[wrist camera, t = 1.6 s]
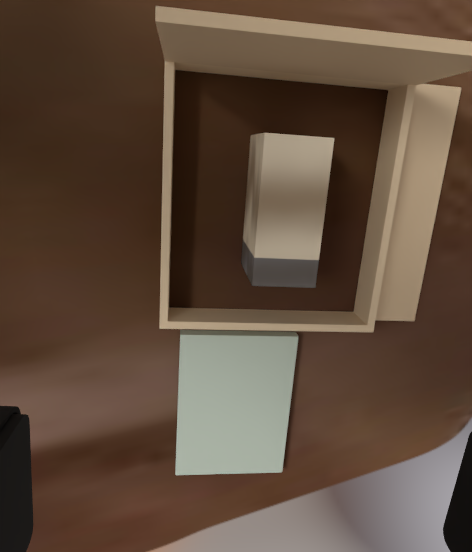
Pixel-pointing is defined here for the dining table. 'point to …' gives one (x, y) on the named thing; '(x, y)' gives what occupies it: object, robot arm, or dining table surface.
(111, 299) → the dining table surface
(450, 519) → the robot arm
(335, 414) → the dining table surface
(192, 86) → the dining table surface
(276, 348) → the mat
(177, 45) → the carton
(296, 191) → the block
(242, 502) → the dining table surface
